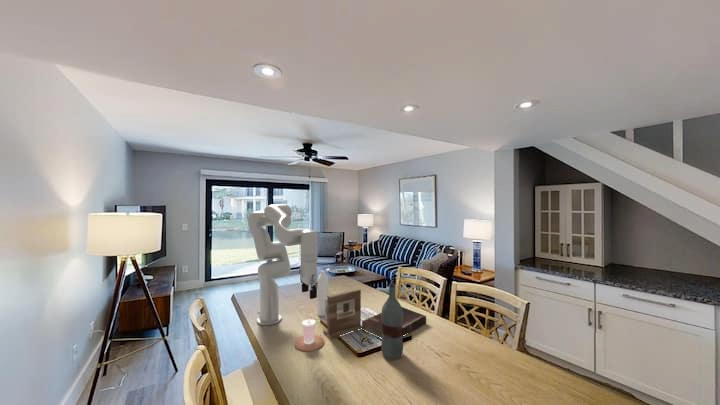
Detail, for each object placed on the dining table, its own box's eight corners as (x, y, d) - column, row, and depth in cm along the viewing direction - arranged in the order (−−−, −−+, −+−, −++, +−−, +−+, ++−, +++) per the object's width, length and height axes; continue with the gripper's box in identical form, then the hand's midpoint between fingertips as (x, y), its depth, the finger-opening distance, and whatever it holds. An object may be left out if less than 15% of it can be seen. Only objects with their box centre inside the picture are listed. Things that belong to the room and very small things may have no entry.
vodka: (387, 363, 110) (387, 288, 110) (377, 351, 118) (377, 282, 118) (407, 357, 114) (407, 285, 113) (396, 346, 122) (396, 279, 122)
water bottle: (323, 317, 152) (323, 272, 152) (314, 314, 156) (314, 270, 156) (333, 312, 159) (333, 269, 159) (325, 309, 163) (325, 267, 163)
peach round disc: (288, 345, 124) (288, 343, 124) (309, 333, 134) (309, 332, 134) (309, 354, 116) (309, 352, 116) (329, 341, 127) (329, 340, 127)
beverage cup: (310, 336, 130) (310, 307, 129) (318, 341, 125) (318, 310, 125) (299, 341, 125) (299, 311, 125) (307, 346, 121) (307, 315, 121)
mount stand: (321, 331, 136) (321, 292, 136) (352, 322, 146) (352, 285, 146) (330, 339, 128) (330, 298, 128) (362, 329, 139) (362, 290, 138)
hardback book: (391, 345, 124) (391, 334, 124) (362, 331, 138) (362, 321, 138) (426, 324, 145) (426, 315, 145) (398, 314, 158) (398, 305, 158)
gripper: (294, 255, 130) (294, 290, 130) (308, 262, 115) (308, 302, 116) (309, 253, 134) (309, 288, 134) (324, 260, 119) (324, 299, 120)
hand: (309, 294), depth 125 cm, fingers open, 9 cm apart
